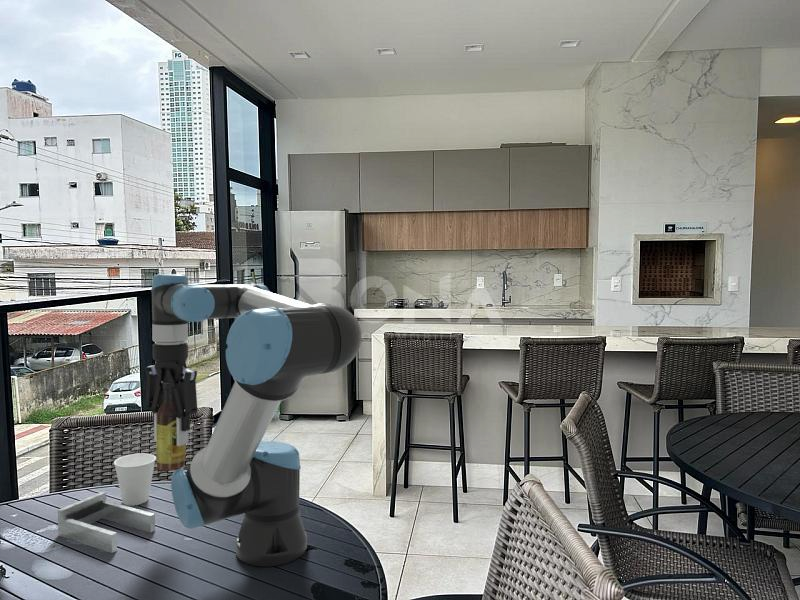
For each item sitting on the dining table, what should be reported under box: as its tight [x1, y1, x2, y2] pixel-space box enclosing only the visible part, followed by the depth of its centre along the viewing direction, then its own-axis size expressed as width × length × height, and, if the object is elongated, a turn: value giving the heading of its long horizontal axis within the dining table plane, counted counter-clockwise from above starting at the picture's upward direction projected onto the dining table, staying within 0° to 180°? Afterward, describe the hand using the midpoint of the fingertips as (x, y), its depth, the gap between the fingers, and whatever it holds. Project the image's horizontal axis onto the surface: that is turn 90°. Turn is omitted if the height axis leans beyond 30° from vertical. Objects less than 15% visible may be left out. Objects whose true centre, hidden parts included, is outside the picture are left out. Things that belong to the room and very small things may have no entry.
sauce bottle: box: [155, 382, 187, 472], centre depth 130 cm, size 6×6×20 cm
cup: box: [113, 452, 156, 507], centre depth 146 cm, size 10×10×11 cm
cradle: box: [57, 491, 156, 554], centre depth 129 cm, size 17×11×6 cm, turn 66°
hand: (171, 441), depth 130 cm, fingers closed on sauce bottle, 6 cm apart
